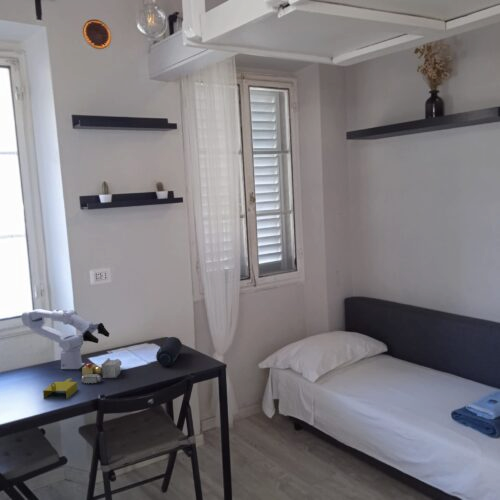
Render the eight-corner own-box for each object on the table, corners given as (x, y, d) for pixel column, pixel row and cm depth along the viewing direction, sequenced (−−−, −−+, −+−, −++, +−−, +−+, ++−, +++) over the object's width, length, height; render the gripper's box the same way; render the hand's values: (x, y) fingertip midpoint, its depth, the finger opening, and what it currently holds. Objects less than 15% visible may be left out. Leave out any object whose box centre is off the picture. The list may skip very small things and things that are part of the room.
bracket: (85, 370, 239) (70, 383, 224) (87, 387, 240) (71, 400, 225) (53, 370, 241) (36, 382, 226) (55, 387, 242) (37, 400, 227)
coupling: (102, 378, 249) (101, 364, 248) (113, 368, 262) (112, 355, 262) (115, 378, 248) (113, 364, 247) (124, 368, 262) (123, 354, 261)
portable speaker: (165, 353, 284) (163, 335, 282) (183, 352, 283) (182, 334, 282) (155, 369, 259) (153, 349, 258) (175, 368, 258) (174, 348, 257)
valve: (82, 377, 252) (81, 365, 251) (87, 373, 256) (86, 362, 256) (101, 376, 251) (100, 365, 250) (105, 373, 256) (104, 362, 255)
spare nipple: (81, 384, 243) (80, 376, 243) (84, 381, 246) (83, 374, 246) (99, 383, 242) (98, 376, 242) (101, 381, 246) (101, 374, 245)
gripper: (72, 324, 255) (94, 337, 250) (94, 313, 267) (114, 325, 262) (71, 336, 257) (91, 349, 253) (92, 324, 270) (112, 337, 265)
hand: (103, 338), depth 258 cm, fingers open, 7 cm apart
